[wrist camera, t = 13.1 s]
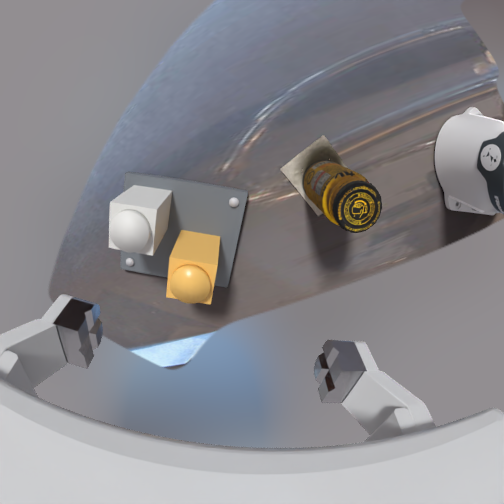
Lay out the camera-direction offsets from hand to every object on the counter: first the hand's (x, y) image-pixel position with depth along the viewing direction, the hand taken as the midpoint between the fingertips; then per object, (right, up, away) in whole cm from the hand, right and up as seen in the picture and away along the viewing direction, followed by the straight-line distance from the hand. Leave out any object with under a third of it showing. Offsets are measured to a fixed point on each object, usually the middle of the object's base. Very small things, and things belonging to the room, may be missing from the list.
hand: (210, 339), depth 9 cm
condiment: (+10, +13, +27) cm, 32 cm away
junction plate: (-8, +6, +28) cm, 30 cm away
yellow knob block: (-6, +3, +29) cm, 29 cm away
